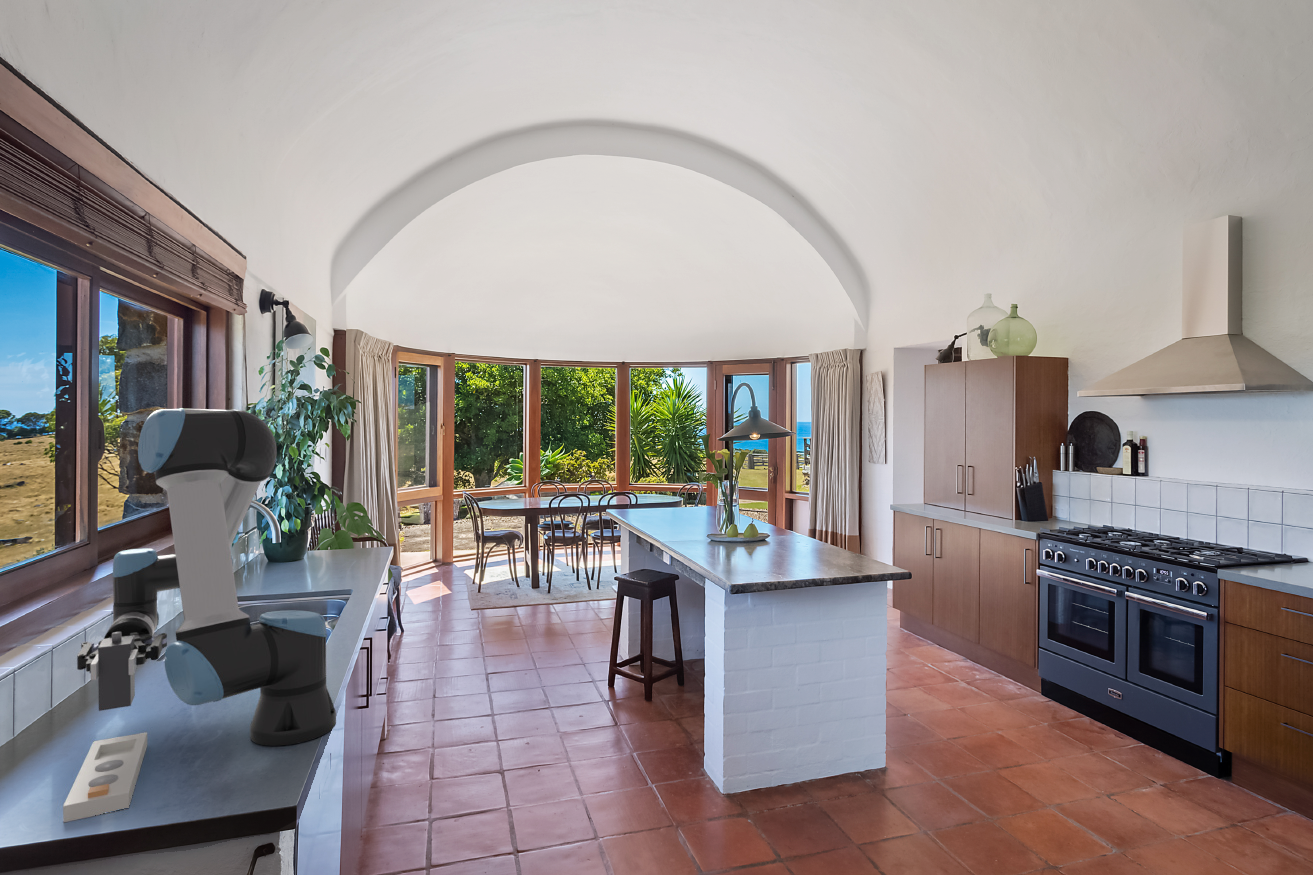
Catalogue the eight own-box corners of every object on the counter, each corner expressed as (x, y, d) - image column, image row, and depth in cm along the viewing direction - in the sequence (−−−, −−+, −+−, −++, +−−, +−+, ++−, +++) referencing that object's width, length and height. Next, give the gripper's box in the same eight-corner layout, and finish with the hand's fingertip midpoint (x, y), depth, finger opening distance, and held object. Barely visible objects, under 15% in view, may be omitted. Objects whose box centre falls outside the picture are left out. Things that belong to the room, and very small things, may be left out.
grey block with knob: (104, 699, 130) (103, 630, 130) (134, 694, 132) (134, 627, 132) (98, 710, 125) (98, 638, 125) (130, 705, 127) (130, 635, 127)
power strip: (93, 754, 131) (93, 736, 131) (147, 745, 135) (147, 727, 135) (63, 822, 109) (63, 800, 109) (128, 808, 113) (128, 787, 113)
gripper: (182, 647, 149) (174, 682, 128) (73, 661, 140) (46, 700, 120) (182, 611, 148) (173, 640, 128) (73, 623, 140) (46, 655, 119)
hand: (112, 669), depth 124 cm, fingers closed on grey block with knob, 4 cm apart
